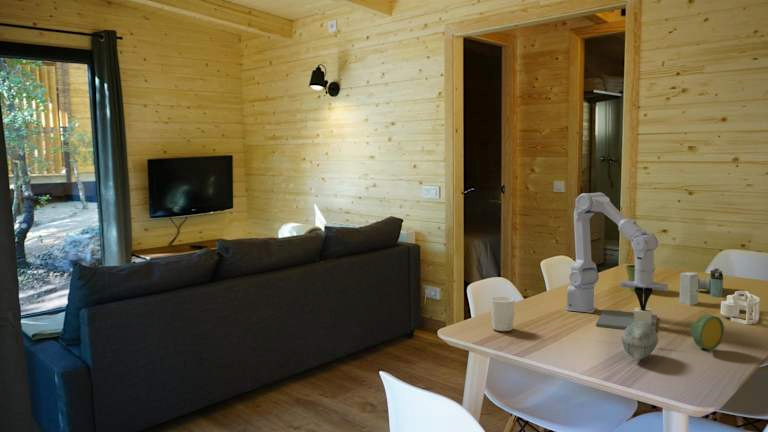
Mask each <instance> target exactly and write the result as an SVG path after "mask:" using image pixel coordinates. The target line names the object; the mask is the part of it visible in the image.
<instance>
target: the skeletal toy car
mask: <svg viewBox="0 0 768 432" xmlns="http://www.w3.org/2000/svg"><path fill="white" fill-rule="evenodd" d="M760 302H761V298H760V297H759V296H756V295H754V294H752V293H750V292H749V291H747V290H738V291H737V290H736V291H734V294H728V295H726V300H722V301H720V314H721V315H722V316H726V317H729V319H730V322H734V323H735V322H736V323H741V324H744V325H753V324H757V323H759V320H760V307H761V303H760ZM752 308H753V311H752ZM740 310H741V311H742V310H743V311H745V312H746V315H745V317H746V318H745V319H742V318H735V317H739V316H740Z"/></svg>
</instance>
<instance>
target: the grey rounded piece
mask: <svg viewBox="0 0 768 432" xmlns="http://www.w3.org/2000/svg"><path fill="white" fill-rule="evenodd" d="M658 342H659V336H658V334H657V331H656V328H655V329H654V328H653V326H652V325H650V324H649V323H648V322H645V321H635V322H633V323H632V324H630V325H629V326H628V327H627V328H626V329H625V330H624V329H623V332H622V334H621V344H622V346H623V348H624V351H625V352H626V353H627V354H628V355H629V356H630V357H632V359H633V358H634V359H636V360H639V359H640V360H641V359H642V360H643V359H645V358H646V357H648V356H650V355H651V354H652V353H653V351H655V349H656V347H657V345H658Z"/></svg>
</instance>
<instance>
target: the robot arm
mask: <svg viewBox="0 0 768 432" xmlns="http://www.w3.org/2000/svg"><path fill="white" fill-rule="evenodd" d="M599 212H600V213H603V214H604V215H605V216H607V217H608V219H610V220H612V221H613V223H615V224H616V225H617V226H618V231H619V233H621V234H622V235H623V236H624V237H625V238H626V239H627V240H628V241H629V242H630V244H631V247H632V249H633V254H634V265H635V281H629V280H621V281H619V282H620V283H619V285H620V286H619V288H629V289H630V288H635V292H634V293H635V295H636V297H637V300H638V303H639V306H640V307H639V308H641V310H643V311H645V310H646V308H647V304H648V301H649V300H650V298H651V295H652V293H653V290H658V291H664V292H668V291H669V284H668V283H661V282H660V283H659V282H654V274H653V270H654V267H655V266H654V263H655V262H654V261H655V260H654V259H655V250H656V249H657V248H658V245H659V241H658V238H657V237H656V236H655V234H653V233H650V232H649V233H648V232H647V231H646V229H644V228H642V227H641V226H640V225H639V224H638V223H637V221H636V219H632V218H626V217H625V216H624V214H622V213H621V212H620V210H619V209H618V208H616V207H615V205H614V204H613V203H612V202H611V200H610V198H609V197H608V196H606V194H605V193H603V192H599V191H598V192H591V193H584V192H583V193H581V194H579V195H578V196H577V197H576V198H575V207H574V211H573V226H574V227H573V228H574V229H573V230H574V246H575V247H574V249H575V252H574V253H575V261H574V262H573V264H571V266H570V273H569V276H568V277H569V282H570V283H571V285H568V287H567V291H566V296H567V297H566V311H570V312H581V313H590V314H591V313H592V314H593V313H594V312H595V311H596V309H597V307H596V306H595V287H596V283H598V281H599V279H600V276H599V272H598V270H597V269H598V268H597V264H596V263H595V262H594V261H593V260H592V242H591V224H590V220H591V219H590V218H592V216H594V215H595V213H599ZM654 271H655V270H654ZM643 289H644V293H643Z"/></svg>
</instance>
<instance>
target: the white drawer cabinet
mask: <svg viewBox="0 0 768 432" xmlns="http://www.w3.org/2000/svg"><path fill="white" fill-rule="evenodd" d="M633 312H634V322H635V321H645V322H648V323H649V324H650V325H651V322H652V313H653V308H647V307H646V310H645V311H643V310H641V308H640V307H638V306H637V307H634V310H633Z"/></svg>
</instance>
